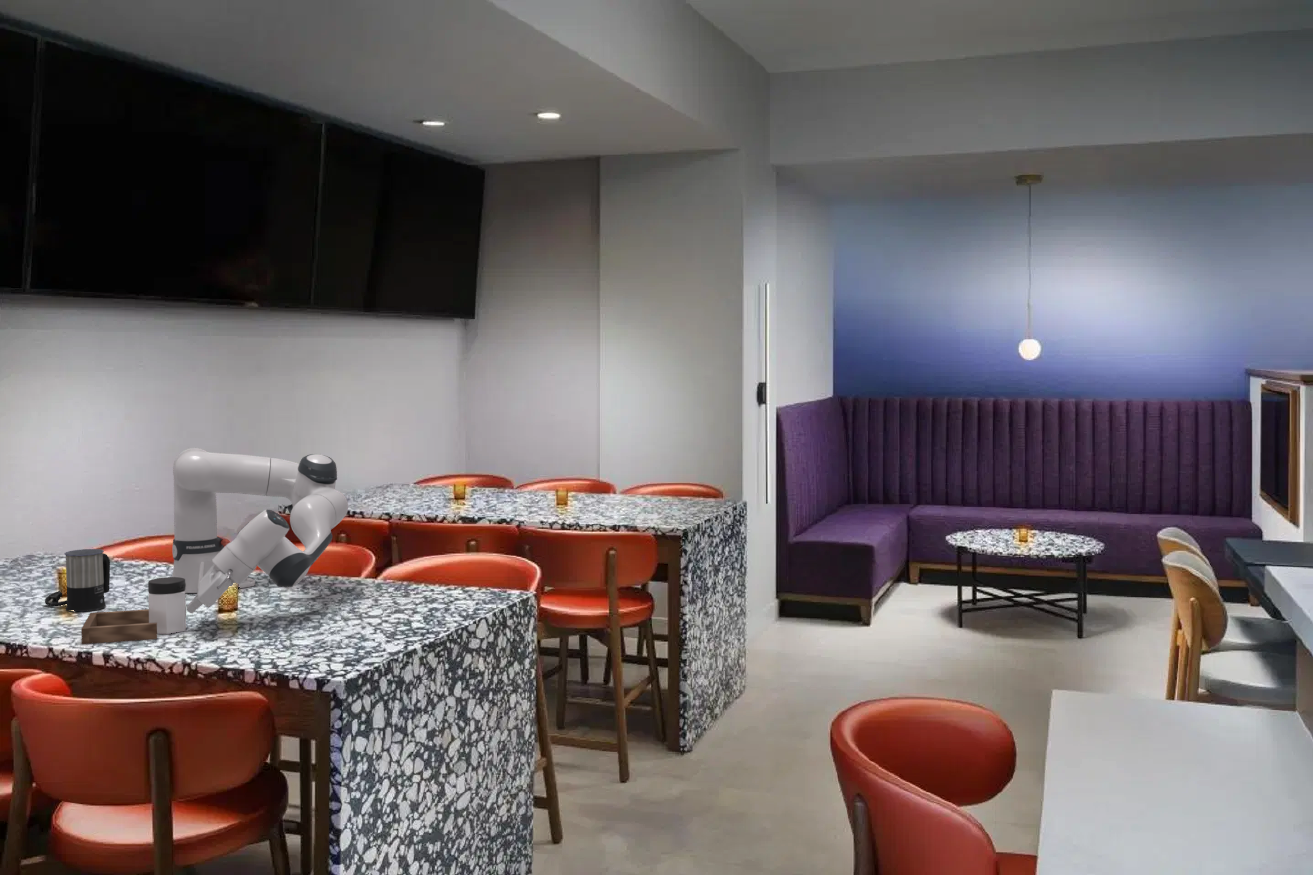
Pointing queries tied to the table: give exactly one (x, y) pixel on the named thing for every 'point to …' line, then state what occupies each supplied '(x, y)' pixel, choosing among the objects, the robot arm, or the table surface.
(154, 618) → the jar
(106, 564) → the milk frother
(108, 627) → the brown square open piece
